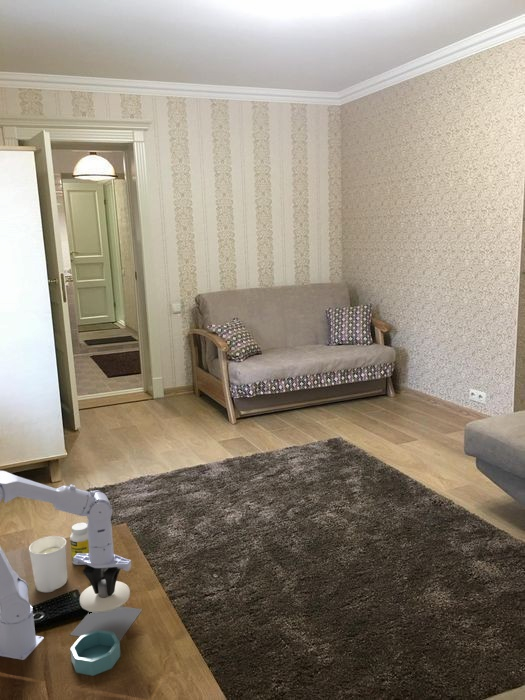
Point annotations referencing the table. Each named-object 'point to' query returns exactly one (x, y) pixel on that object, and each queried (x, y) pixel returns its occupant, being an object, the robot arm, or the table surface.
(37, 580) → the candle holder
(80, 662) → the bowl
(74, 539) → the pill bottle
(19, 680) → the table surface
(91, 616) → the mat
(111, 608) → the lid
